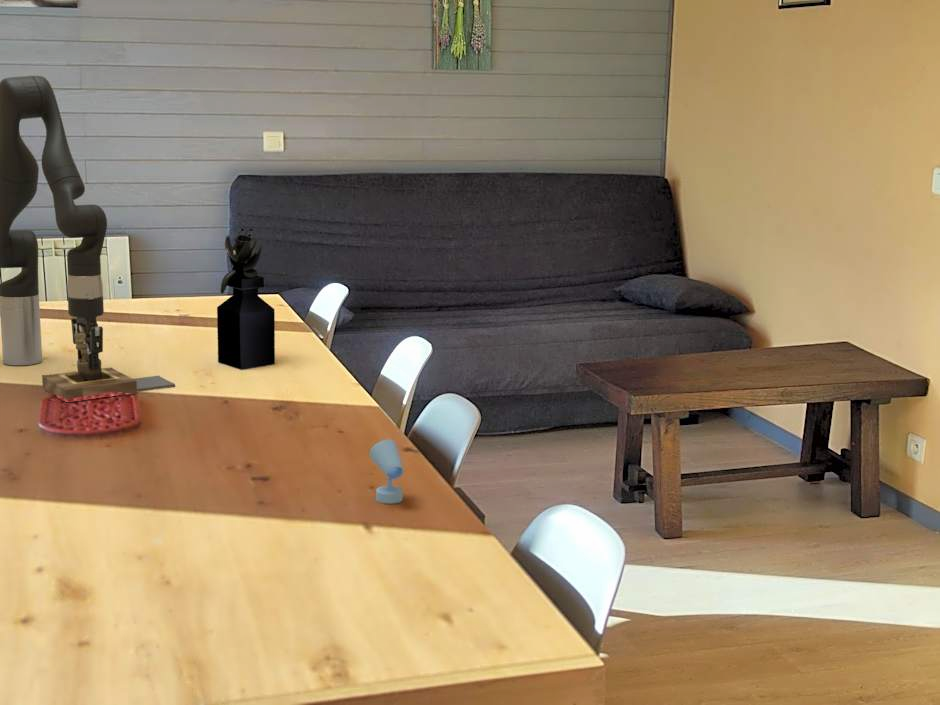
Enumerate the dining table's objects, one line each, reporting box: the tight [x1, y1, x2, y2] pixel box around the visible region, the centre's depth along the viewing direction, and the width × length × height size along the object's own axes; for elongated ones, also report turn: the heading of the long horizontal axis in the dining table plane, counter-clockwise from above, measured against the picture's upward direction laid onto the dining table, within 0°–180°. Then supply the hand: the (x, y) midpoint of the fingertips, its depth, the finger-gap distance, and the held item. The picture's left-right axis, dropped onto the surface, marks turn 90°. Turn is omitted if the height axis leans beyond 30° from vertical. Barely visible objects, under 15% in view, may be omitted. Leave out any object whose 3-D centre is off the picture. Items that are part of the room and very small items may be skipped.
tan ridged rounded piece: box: [74, 332, 102, 382], centre depth 248 cm, size 6×6×15 cm
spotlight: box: [369, 439, 405, 505], centre depth 184 cm, size 5×10×7 cm
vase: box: [216, 228, 276, 371], centre depth 278 cm, size 14×12×35 cm
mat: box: [133, 375, 176, 393], centre depth 256 cm, size 10×10×1 cm
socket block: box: [41, 367, 138, 399], centre depth 249 cm, size 16×16×3 cm
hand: (88, 366), depth 248 cm, fingers open, 6 cm apart
